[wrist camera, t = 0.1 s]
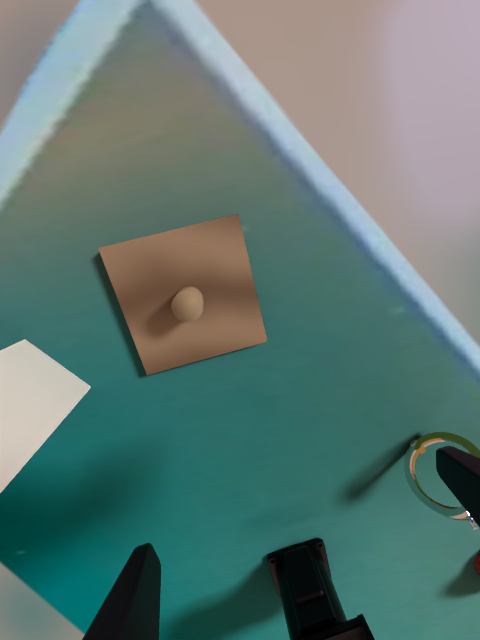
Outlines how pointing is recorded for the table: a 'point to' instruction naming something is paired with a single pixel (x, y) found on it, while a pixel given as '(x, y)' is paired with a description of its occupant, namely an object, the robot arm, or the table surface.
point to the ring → (409, 465)
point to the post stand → (186, 293)
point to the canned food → (478, 563)
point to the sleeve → (31, 403)
